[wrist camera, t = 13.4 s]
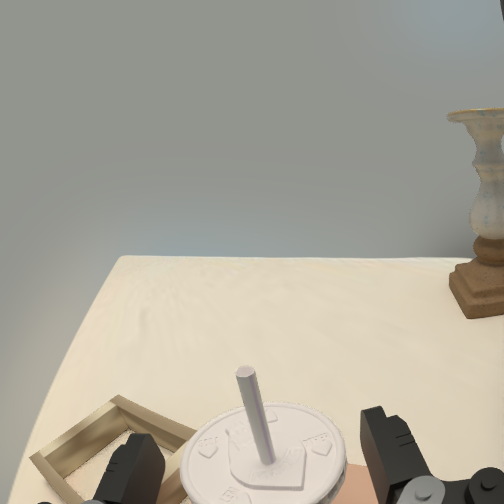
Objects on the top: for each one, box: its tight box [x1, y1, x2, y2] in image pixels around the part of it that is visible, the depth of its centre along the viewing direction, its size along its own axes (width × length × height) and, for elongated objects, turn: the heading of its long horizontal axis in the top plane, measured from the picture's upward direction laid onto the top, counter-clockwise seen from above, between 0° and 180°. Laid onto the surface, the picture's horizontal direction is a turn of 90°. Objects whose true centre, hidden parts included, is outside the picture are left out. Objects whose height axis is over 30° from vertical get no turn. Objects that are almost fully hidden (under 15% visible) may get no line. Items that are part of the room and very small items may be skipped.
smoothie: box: [179, 366, 348, 504], centre depth 11 cm, size 6×6×14 cm
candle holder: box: [447, 108, 504, 319], centre depth 32 cm, size 11×11×24 cm
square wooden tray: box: [29, 395, 197, 504], centre depth 19 cm, size 11×11×3 cm
